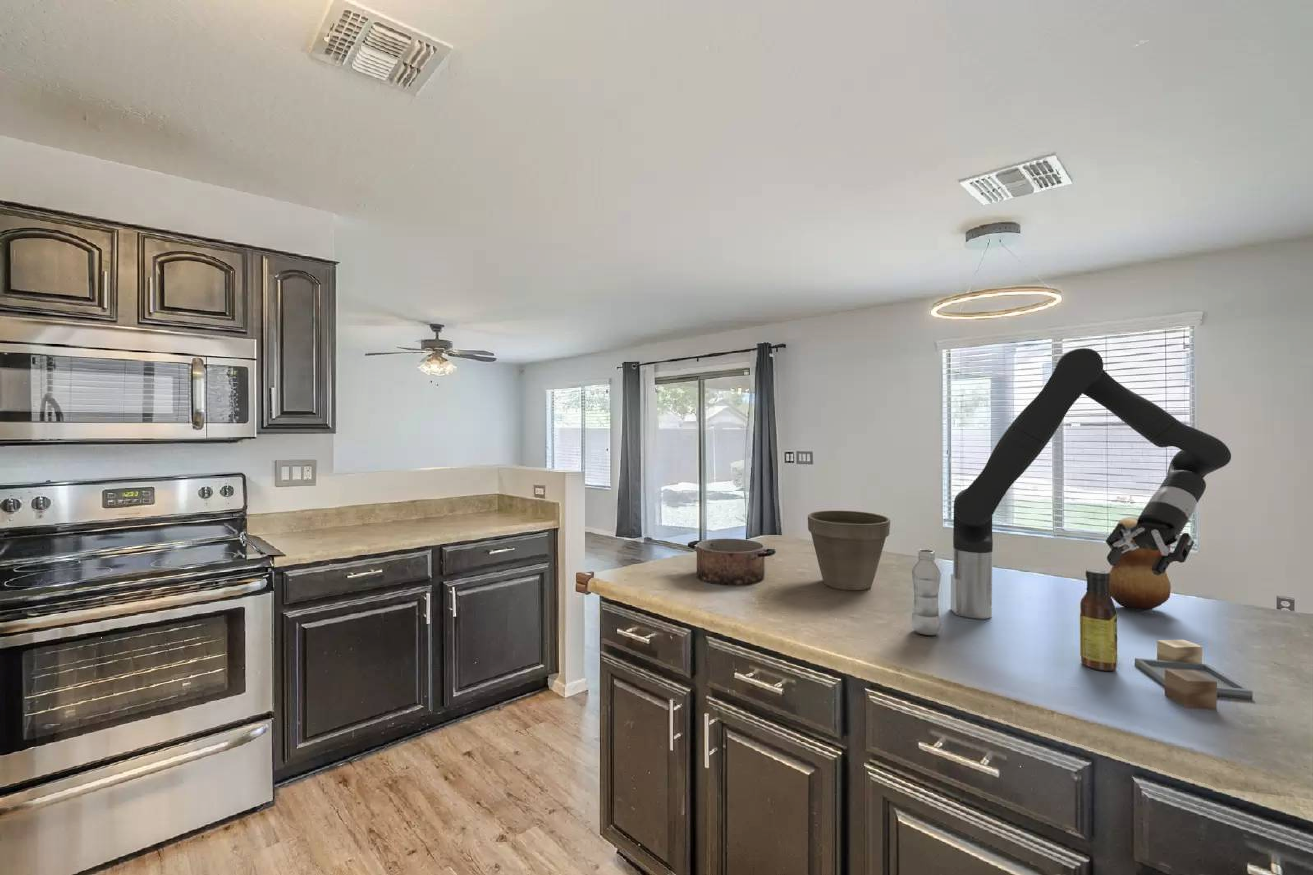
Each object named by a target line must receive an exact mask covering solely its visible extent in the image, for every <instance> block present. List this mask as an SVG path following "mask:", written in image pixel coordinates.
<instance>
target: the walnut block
mask: <svg viewBox="0 0 1313 875" xmlns="http://www.w3.org/2000/svg"><path fill="white" fill-rule="evenodd" d="M1164 696H1166V697H1167V698H1169V699H1170V700H1172V701H1174V702H1175V703H1177V704H1179V705H1181V706H1182V707H1183V708H1185V709H1199V710H1201V709H1202V710H1203V709H1204V710H1217V709H1218V708H1217V707H1218V706H1217V705H1218V703H1217V700H1218V696H1217V682H1216V681H1215V680H1213V679H1211V678H1209V677H1207V676H1205V675H1203V674H1201V673H1199V672H1197V671H1195V670H1178V669H1165V687H1164Z"/></svg>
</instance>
